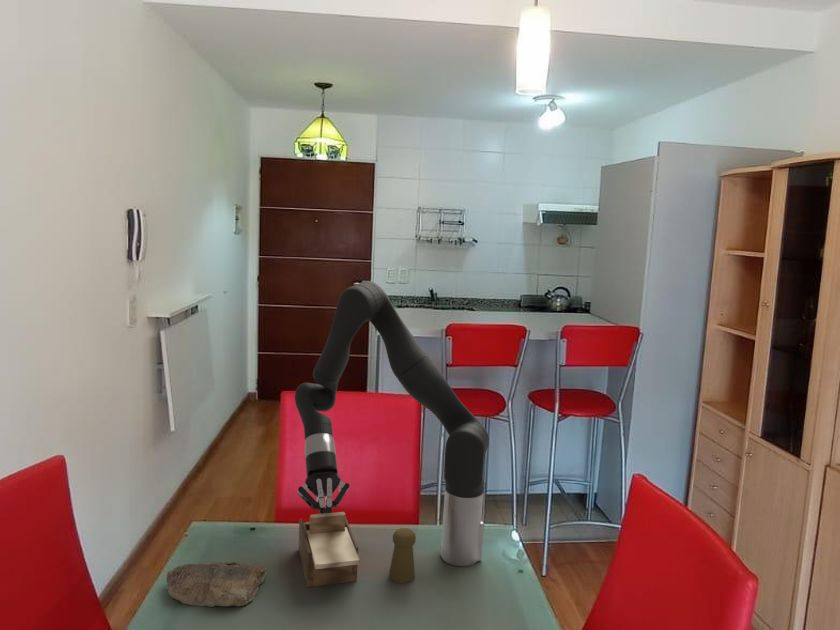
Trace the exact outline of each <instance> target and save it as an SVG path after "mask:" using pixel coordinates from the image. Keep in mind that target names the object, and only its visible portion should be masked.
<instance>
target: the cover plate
mask: <svg viewBox="0 0 840 630" xmlns="http://www.w3.org/2000/svg"><path fill="white" fill-rule="evenodd" d="M345 517H346V513H345V511H340V512H339V511H337V512H335V511H334V512H332V513H324V514H319V513H315V514H310V515H309V522H310V528H309V531H306V536H307V540H308V544H309V547H310V551H311V555H312V558H313V562H314V566H315V569H322V568H331V567H340V566H349V565H360V557H359V554H358V555H357V552H356V550H355V547H354V545H353V542H352V540H351V537H350V535H349V532H348V530H347V527H345ZM346 518H347V517H346Z"/></svg>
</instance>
